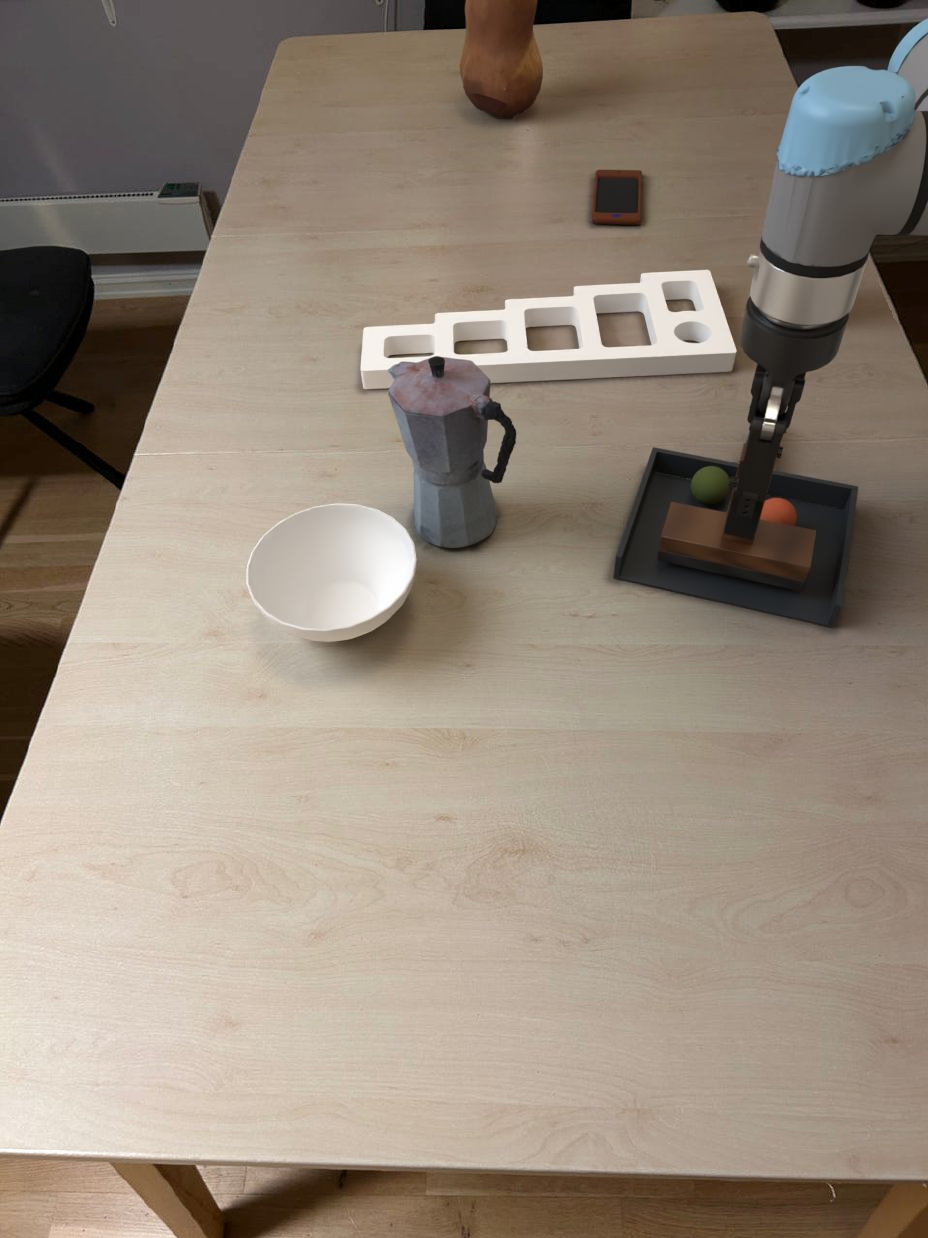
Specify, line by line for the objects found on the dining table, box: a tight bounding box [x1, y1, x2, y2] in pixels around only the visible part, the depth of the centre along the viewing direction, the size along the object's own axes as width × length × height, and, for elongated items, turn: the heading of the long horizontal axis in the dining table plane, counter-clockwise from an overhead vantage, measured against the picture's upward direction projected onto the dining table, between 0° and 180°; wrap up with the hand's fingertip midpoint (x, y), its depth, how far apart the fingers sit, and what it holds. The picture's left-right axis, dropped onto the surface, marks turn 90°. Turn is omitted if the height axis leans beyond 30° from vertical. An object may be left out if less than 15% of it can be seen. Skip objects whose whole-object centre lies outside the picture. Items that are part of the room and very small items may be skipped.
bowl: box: [245, 502, 418, 643], centre depth 90 cm, size 16×16×7 cm
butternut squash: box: [459, 0, 544, 120], centre depth 150 cm, size 14×13×25 cm
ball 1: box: [691, 466, 731, 505], centre depth 98 cm, size 4×4×4 cm
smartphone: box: [591, 169, 643, 226], centre depth 139 cm, size 7×1×15 cm
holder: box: [359, 269, 737, 390], centre depth 118 cm, size 45×18×3 cm, turn 91°
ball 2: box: [760, 497, 797, 526], centre depth 94 cm, size 4×4×4 cm
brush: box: [657, 442, 816, 591], centre depth 87 cm, size 14×5×14 cm, turn 71°
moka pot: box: [387, 356, 517, 549], centre depth 91 cm, size 10×15×20 cm, turn 55°
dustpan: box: [613, 431, 859, 629], centre depth 97 cm, size 27×21×3 cm
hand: (741, 522), depth 89 cm, fingers closed on brush, 2 cm apart
